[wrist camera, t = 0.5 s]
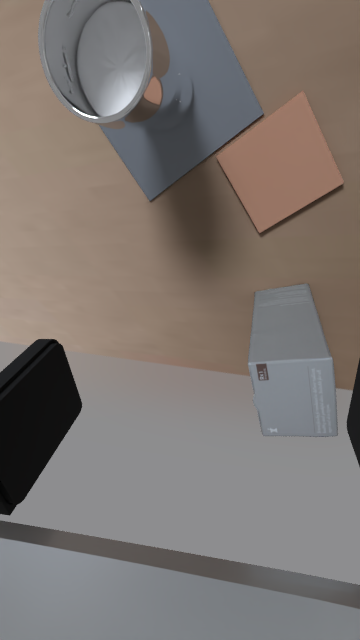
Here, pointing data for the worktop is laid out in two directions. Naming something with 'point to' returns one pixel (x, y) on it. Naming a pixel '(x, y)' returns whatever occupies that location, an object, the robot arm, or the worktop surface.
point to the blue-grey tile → (207, 102)
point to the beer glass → (113, 64)
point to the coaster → (281, 164)
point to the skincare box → (291, 365)
